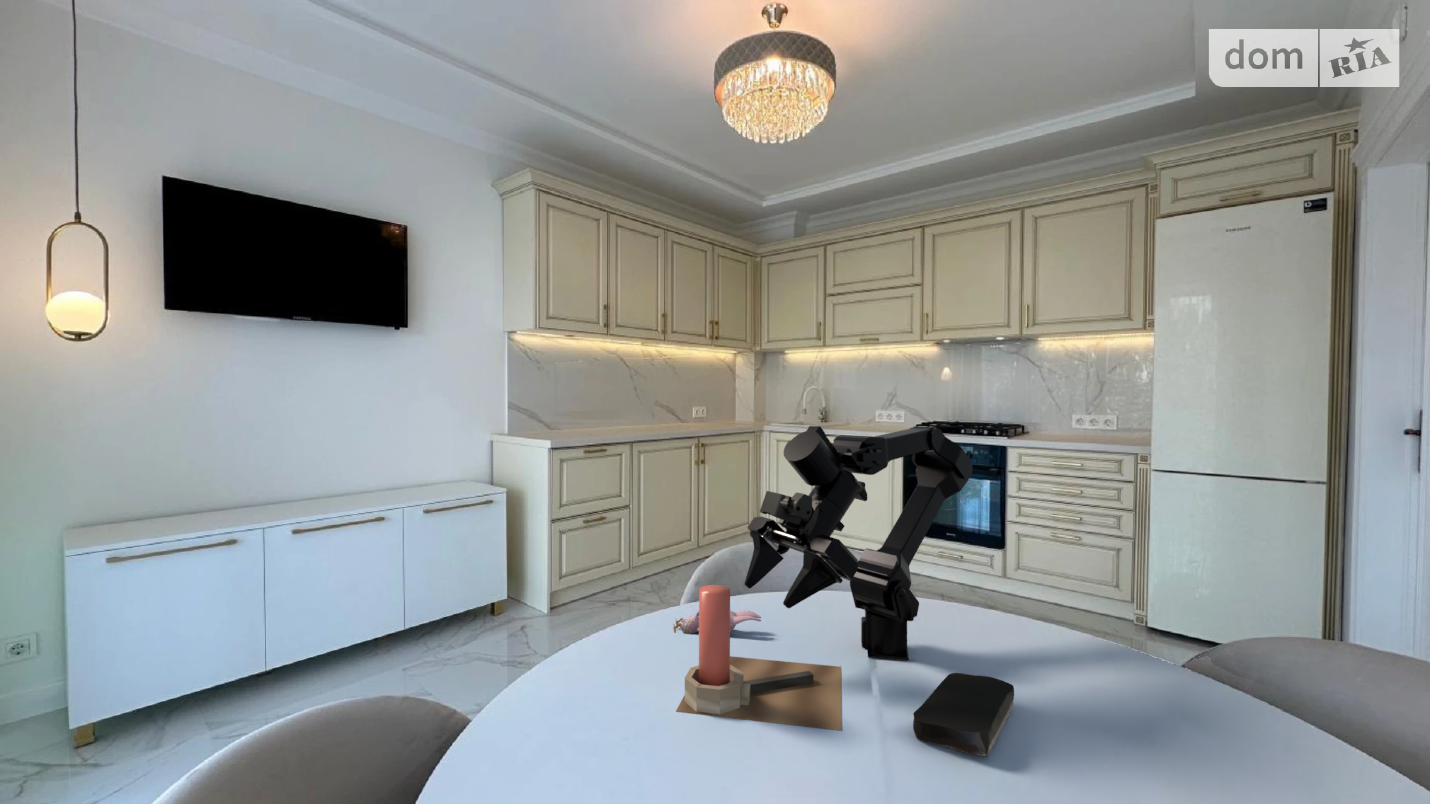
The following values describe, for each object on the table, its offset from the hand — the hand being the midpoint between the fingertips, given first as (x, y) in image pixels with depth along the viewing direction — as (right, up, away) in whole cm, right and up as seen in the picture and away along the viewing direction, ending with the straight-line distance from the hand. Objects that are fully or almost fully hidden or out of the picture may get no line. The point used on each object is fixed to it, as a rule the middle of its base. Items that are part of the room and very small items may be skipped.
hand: (765, 596), depth 79 cm
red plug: (-7, -12, -4) cm, 14 cm away
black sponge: (+24, -14, -8) cm, 29 cm away
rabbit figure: (-7, -14, +21) cm, 26 cm away
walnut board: (0, -13, -1) cm, 13 cm away
